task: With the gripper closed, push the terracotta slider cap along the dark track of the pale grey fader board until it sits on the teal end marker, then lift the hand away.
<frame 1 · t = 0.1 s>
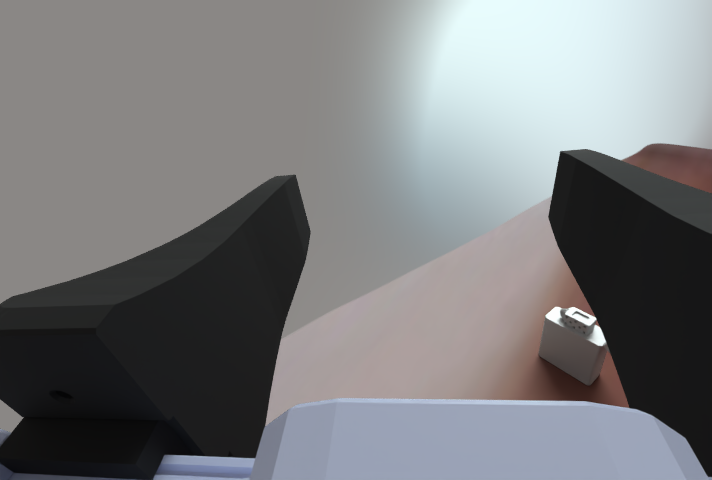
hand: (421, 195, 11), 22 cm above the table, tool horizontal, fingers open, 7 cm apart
lighter: (586, 377, 30), on the table
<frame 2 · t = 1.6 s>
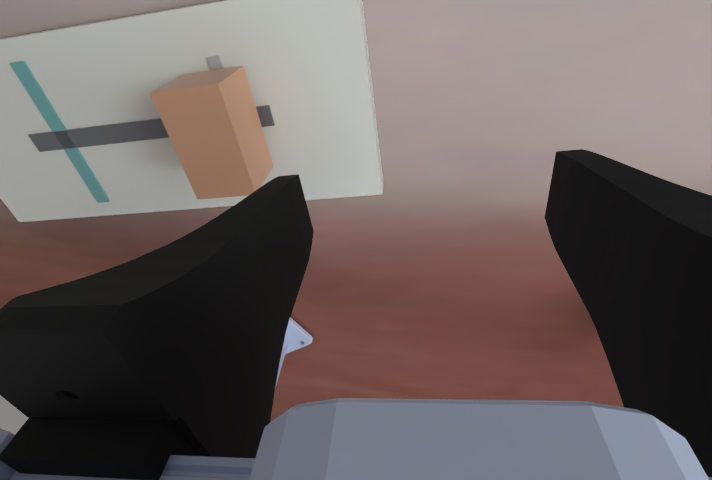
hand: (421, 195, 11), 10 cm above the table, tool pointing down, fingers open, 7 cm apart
fader board: (161, 119, 21), on the table
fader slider: (219, 134, 18), point 3 cm above the table, slide at 0.0 cm
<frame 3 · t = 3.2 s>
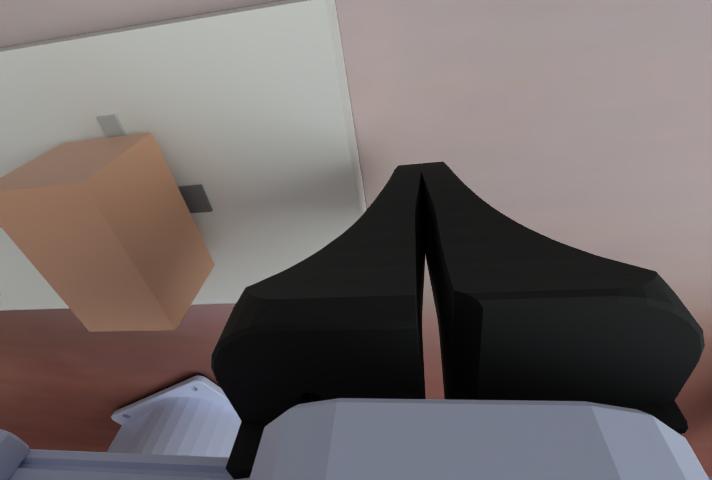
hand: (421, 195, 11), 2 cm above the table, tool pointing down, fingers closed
fader board: (59, 191, 15), on the table
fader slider: (119, 236, 11), point 4 cm above the table, slide at 0.0 cm
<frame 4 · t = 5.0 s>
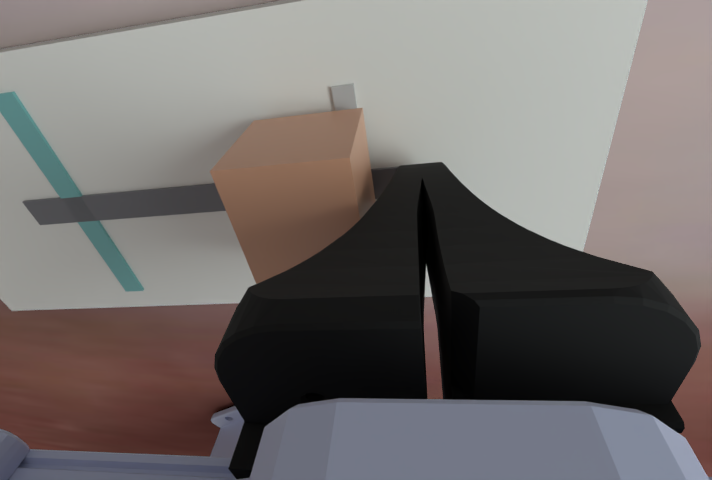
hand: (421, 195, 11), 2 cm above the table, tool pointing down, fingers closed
fader board: (227, 176, 14), on the table
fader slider: (316, 223, 10), point 4 cm above the table, slide at 1.0 cm, touching gripper
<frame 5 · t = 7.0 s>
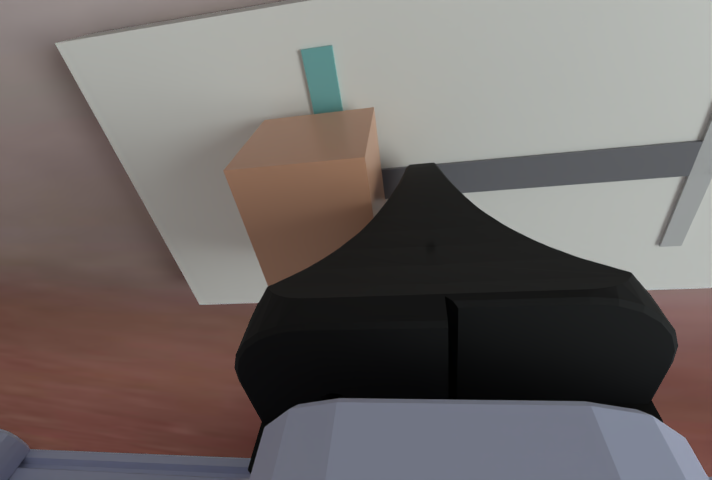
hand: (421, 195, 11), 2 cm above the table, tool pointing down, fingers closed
fader board: (500, 151, 12), on the table
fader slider: (326, 223, 10), point 3 cm above the table, slide at 10.2 cm, touching gripper
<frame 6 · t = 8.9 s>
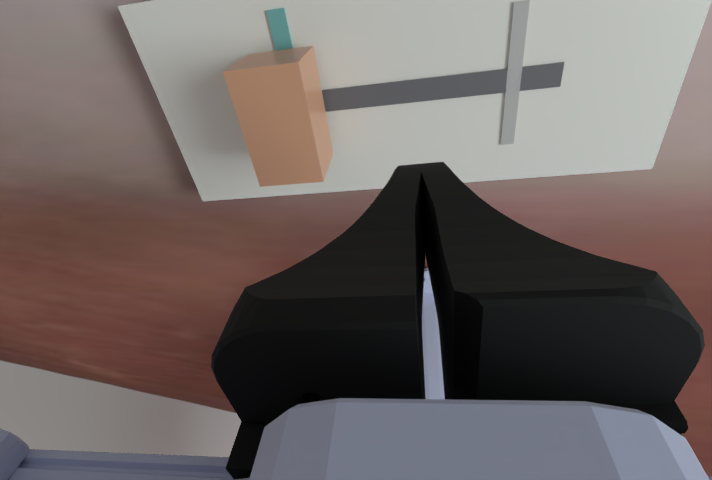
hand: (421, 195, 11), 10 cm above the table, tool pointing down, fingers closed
fader board: (400, 83, 19), on the table
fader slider: (285, 118, 17), point 4 cm above the table, slide at 10.1 cm
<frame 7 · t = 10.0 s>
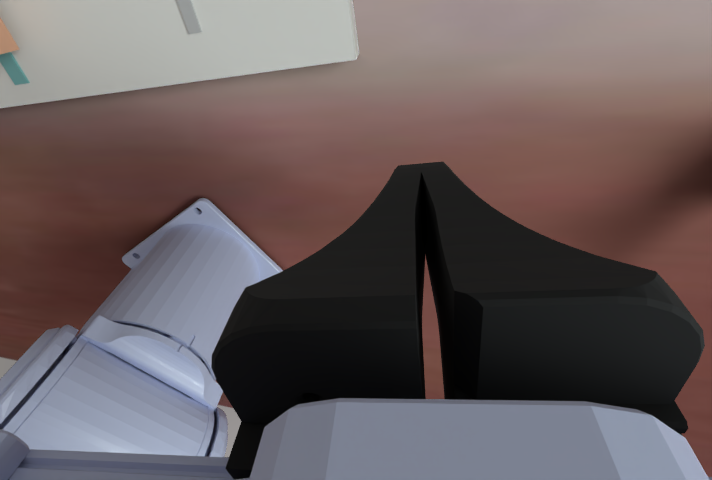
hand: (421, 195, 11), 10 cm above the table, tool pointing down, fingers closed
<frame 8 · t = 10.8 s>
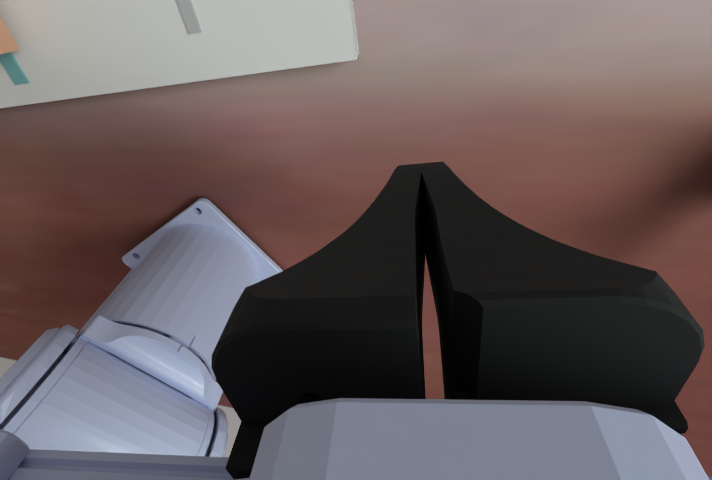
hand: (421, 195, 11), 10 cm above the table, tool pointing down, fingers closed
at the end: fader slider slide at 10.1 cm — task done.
